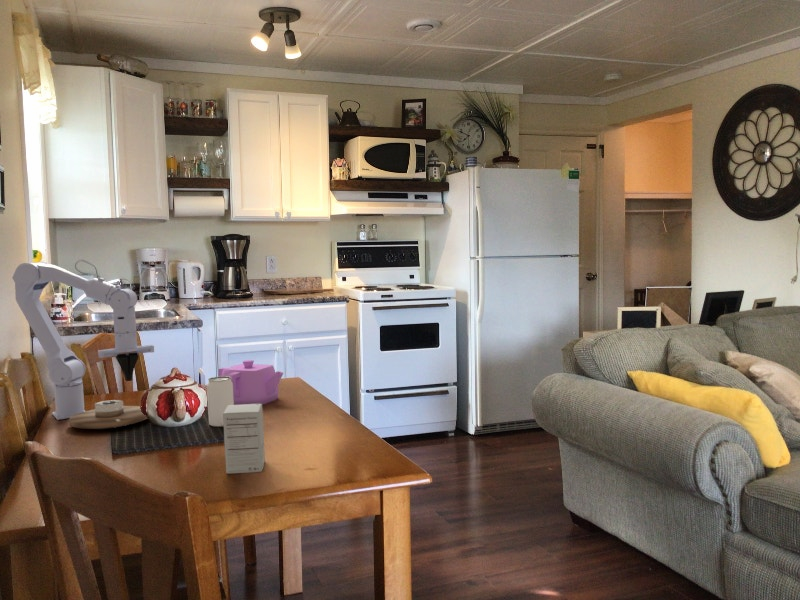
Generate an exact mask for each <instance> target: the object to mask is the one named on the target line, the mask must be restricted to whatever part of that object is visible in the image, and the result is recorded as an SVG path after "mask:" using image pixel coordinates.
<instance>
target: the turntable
mask: <svg viewBox="0 0 800 600" xmlns="http://www.w3.org/2000/svg"><path fill="white" fill-rule="evenodd" d="M123 408H124V414H123V415H120V416H117V417H111V418H97V417H95V408H94V409H89V410H85V412H81V413H78V414H76V415H73V416H72V417H70V418H68V421H69V423H68V424H69V426H71V427H73V428H76V429H84V430H85V429H88V430H93V429H98V428H110V427H118V426H124V425H129V424H131V425H133V424H136V423H139V422H143V421H146V420H148V418H147V417H146V415H144V414H143V413H142V412H141V409H140V405H123ZM129 426H130V425H129Z"/></svg>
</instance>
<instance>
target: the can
mask: <svg viewBox="0 0 800 600" xmlns="http://www.w3.org/2000/svg"><path fill="white" fill-rule="evenodd" d="M230 378H231V377H227V376H221V377H218V376H214V377H210V378H208V382H207V383H206V392H207V396H206V397H207V412H208V413H207V414H208V425H210V426H211V427H214V428H221V427H222V428H224V423H223V413H224V411H225V410H226V408H227V406H228V405H234V400H233V384H232V381H231V379H230Z"/></svg>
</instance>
